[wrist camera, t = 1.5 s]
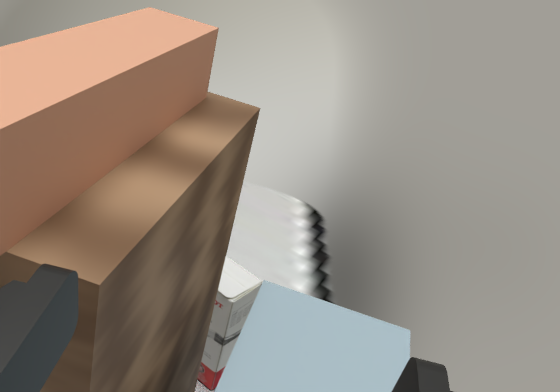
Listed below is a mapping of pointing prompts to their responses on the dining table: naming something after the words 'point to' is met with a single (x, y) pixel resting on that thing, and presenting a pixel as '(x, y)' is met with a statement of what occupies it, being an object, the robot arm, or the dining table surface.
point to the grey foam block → (313, 348)
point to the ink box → (227, 319)
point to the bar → (90, 106)
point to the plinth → (146, 254)
